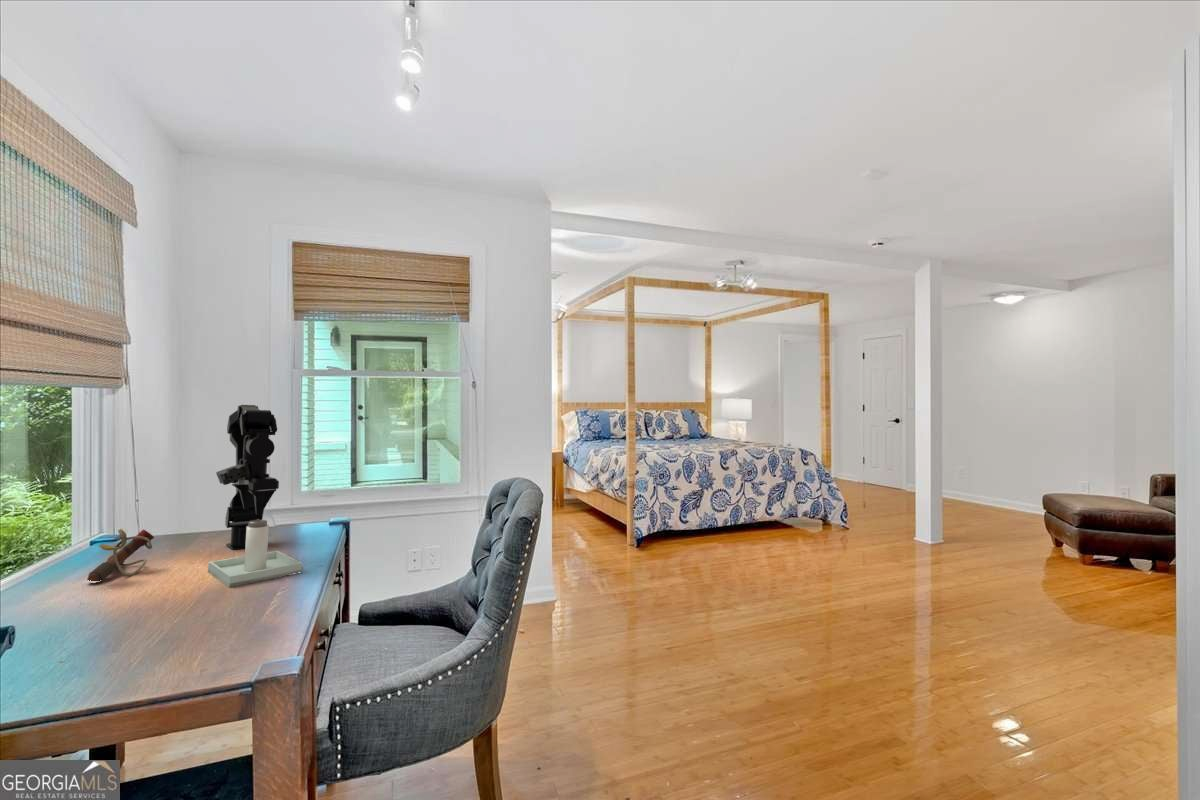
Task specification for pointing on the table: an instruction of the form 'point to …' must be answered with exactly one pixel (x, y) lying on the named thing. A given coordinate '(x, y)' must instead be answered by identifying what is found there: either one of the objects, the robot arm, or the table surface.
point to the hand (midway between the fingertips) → (252, 512)
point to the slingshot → (121, 555)
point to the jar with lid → (256, 546)
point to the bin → (235, 575)
